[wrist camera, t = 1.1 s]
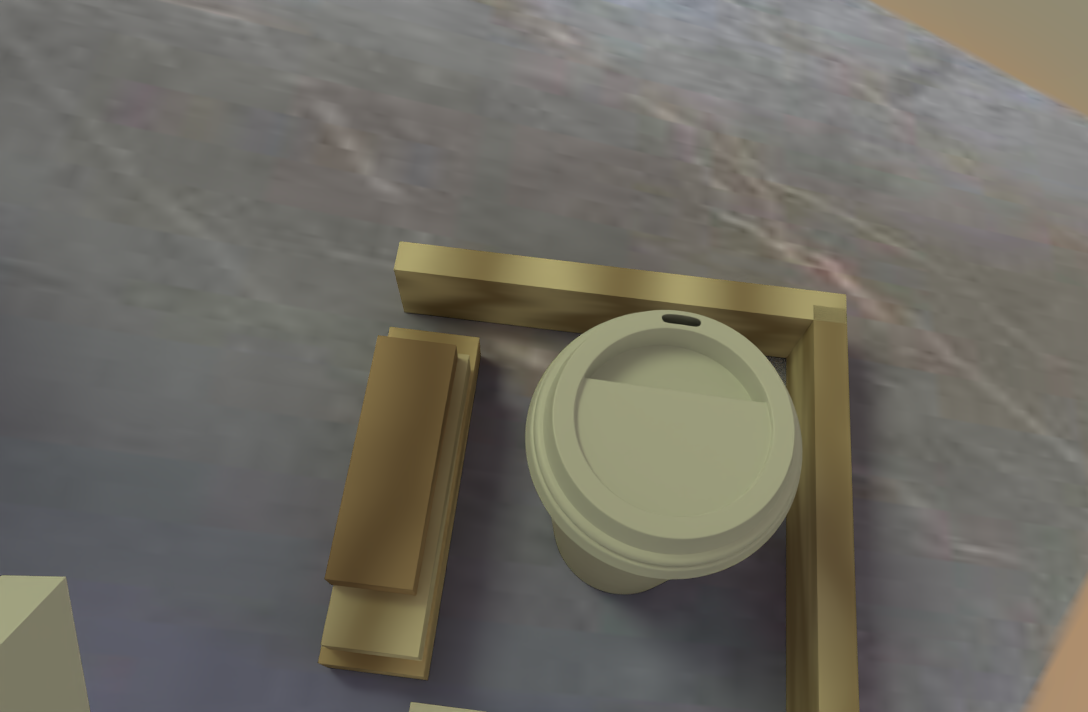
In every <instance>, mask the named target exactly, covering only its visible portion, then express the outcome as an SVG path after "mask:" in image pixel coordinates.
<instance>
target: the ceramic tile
mask: <svg viewBox="0 0 1088 712" xmlns="http://www.w3.org/2000/svg"><path fill="white" fill-rule="evenodd" d="M409 712H485V711H477V710H469V709H461V708H454V707H446V706H438V705H430V704H423V703H415V702H411V703H410V709H409Z"/></svg>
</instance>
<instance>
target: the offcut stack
mask: <svg viewBox="0 0 1088 712" xmlns="http://www.w3.org/2000/svg"><path fill="white" fill-rule="evenodd" d="M480 357H481V353H480V340H479V338H478V337H470V336H462V335H453V334H445V333H437V332H429V331H420V330H412V329H404V328H396V327H390V329H389V334H388V337H387V336H379V335H378V338H377V342H376V347H375V352H374V356H373V361H372V365H371V370H370V374H369V379H368V383H367V388H366V392H365V397H364V402H363V406H362V411H361V415H360V420H359V424H358V429H357V433H356V438H355V442H354V447H353V452H352V456H351V461H350V465H349V470H348V474H347V479H346V483H345V488H344V492H343V497H342V501H341V506H340V511H339V515H338V520H337V524H336V529H335V533H334V538H333V542H332V547H331V551H330V556H329V561H328V565H327V570H326V574H325V580H326V581H327V582H329V583H330V584H331V585H333V590H332V594H331V599H330V603H329V608H328V613H327V617H326V622H325V627H324V631H323V636H322V641H321V645H322V646H321V651H320V655H319V660H318V663H319V664H321V665H323V666H326V667H329V668H336V669H344V670H352V671H360V672H367V673H375V674H383V675H391V676H399V677H406V678H414V679H422V680H428V676H429V670H430V664H431V658H432V652H433V646H434V639H435V633H436V627H437V621H438V615H439V609H440V603H441V596H442V590H443V584H444V578H445V572H446V566H447V560H448V554H449V547H450V541H451V535H452V529H453V523H454V517H455V511H456V505H457V498H458V492H459V486H460V480H461V474H462V468H463V462H464V455H465V449H466V443H467V437H468V431H469V425H470V419H471V413H472V406H473V400H474V394H475V388H476V382H477V376H478V370H479V364H480Z"/></svg>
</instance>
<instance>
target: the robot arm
mask: <svg viewBox="0 0 1088 712" xmlns="http://www.w3.org/2000/svg"><path fill="white" fill-rule="evenodd" d="M0 712H90V707H89V702H88V696H87V691H86V685H85V680H84V674H83V669H82V663H81V658H80V652H79V647H78V641H77V635H76V630H75V624H74V619H73V613H72V608H71V602H70V597H69V591H68V586H67V580H66V577H52V576H10V575H2V576H0Z"/></svg>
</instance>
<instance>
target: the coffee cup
mask: <svg viewBox="0 0 1088 712" xmlns="http://www.w3.org/2000/svg"><path fill="white" fill-rule="evenodd" d="M525 445H526V455H527V462H528V467H529V471H530V474H531V478H532V481H533V483H534V486H535V489H536V491H537V493H538V495H539V497H540V499H541V501H542V503H543V505H544V506H545V508H546V510H547V511H548V513H549V514H550V516H551V518H552V524H553V529H554V535H555V540H556V544H557V547H558V549H559V552H560V554H561V556H562V558H563V560H564V561H565V563H566V564H567V566H568V567H569V568H570V569H571V571H572V572H573V573H574V574H575V575H576V576H577V577H579V578H580V579H581V580H582V581H584V582H585V583H587V584H588V585H590V586H592V587H594V588H596V589H599V590H601V591H604V592H608V593H613V594H634V593H639V592H643V591H646V590H649V589H651V588H653V587H655V586H657V585H659V584H661V583H664V582H666V581H668V580H670V579H688V578H695V577H701V576H705V575H709V574H713V573H716V572H719V571H722V570H724V569H727V568H729V567H731V566H733V565H735V564H737V563H739V562H741V561H742V560H744V559H746V558H747V557H749V556H750V555H751V554H753V553H754V552H755V551H757V550H758V549H759V548H760V547H761V546H763V545H764V544H765V543H766V542H767V541H768V540H769V539H770V538H771V536H772V535H773V534H774V533H775V532H776V530H777V529H778V528H779V526H780V525H781V523H782V522H783V520H784V519H785V517H786V515H787V513H788V511H789V509H790V507H791V505H792V503H793V500H794V498H795V495H796V492H797V488H798V484H799V479H800V474H801V467H802V436H801V429H800V424H799V420H798V416H797V413H796V410H795V407H794V404H793V401H792V399H791V397H790V394H789V392H788V390H787V388H786V386H785V384H784V383H783V381H782V379H781V378H780V376H779V375H778V373H777V371H776V370H775V368H774V367H773V365H772V364H771V363H770V361H769V360H768V359H767V358H766V356H765V355H764V354H763V353H762V352H761V351H760V350H759V349H758V348H757V347H756V346H755V345H754V344H753V343H752V342H750V341H749V340H748V339H747V338H745V337H744V336H743V335H741V334H740V333H738V332H737V331H735V330H734V329H732V328H730V327H728V326H727V325H725V324H723V323H721V322H718V321H716V320H714V319H711V318H708V317H705V316H702V315H699V314H695V313H690V312H684V311H676V310H653V311H645V312H638V313H632V314H627V315H623V316H620V317H617V318H614V319H611V320H608V321H606V322H604V323H601V324H599V325H597V326H595V327H593V328H591V329H589V330H588V331H586V332H585V333H583V334H581V335H580V336H579V337H577V338H576V339H575V340H573V341H572V342H571V343H570V344H569V345H568V346H567V347H565V348H564V349H563V350H562V351H561V353H560V354H559V355H558V356H557V357H556V358H555V359H554V360H553V362H552V363H551V364H550V365H549V367H548V368H547V370H546V371H545V372H544V374H543V376H542V377H541V379H540V381H539V383H538V385H537V387H536V389H535V392H534V394H533V397H532V400H531V403H530V406H529V410H528V415H527V421H526V431H525Z"/></svg>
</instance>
